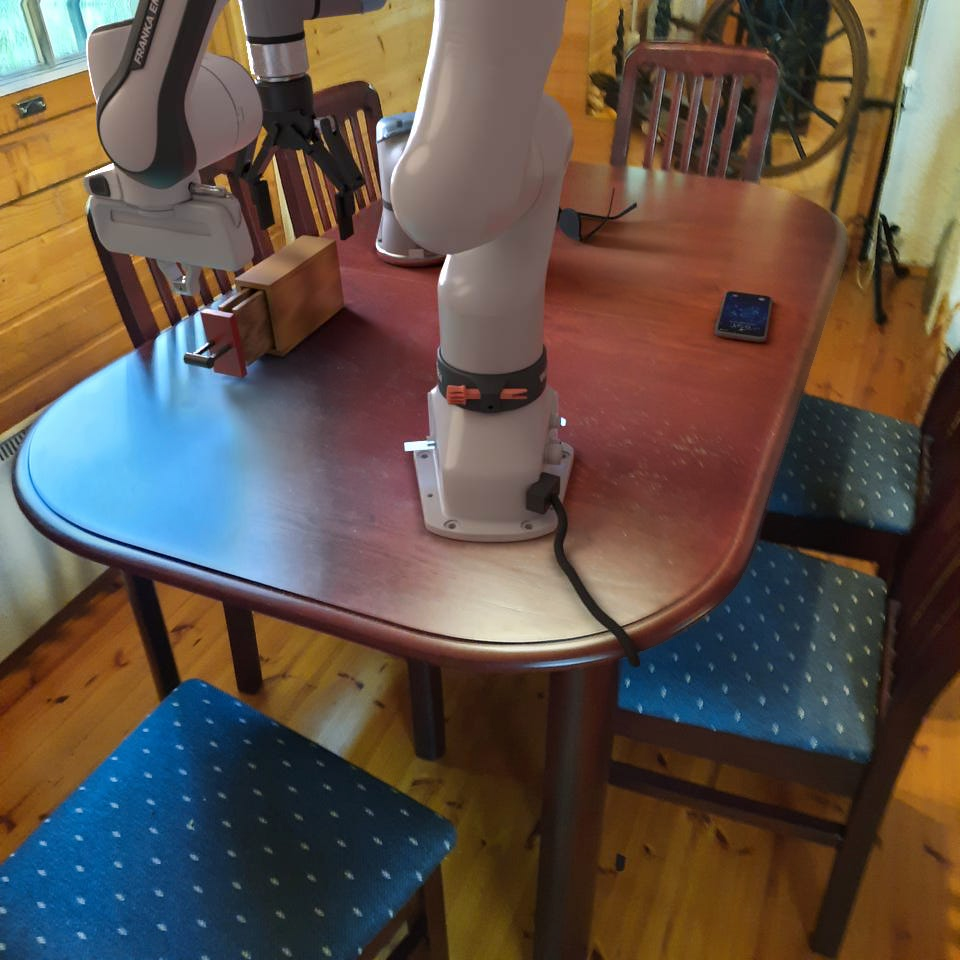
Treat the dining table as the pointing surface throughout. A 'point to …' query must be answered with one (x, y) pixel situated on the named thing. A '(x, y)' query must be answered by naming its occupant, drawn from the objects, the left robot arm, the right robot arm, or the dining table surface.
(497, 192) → the right robot arm
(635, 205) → the sunglasses
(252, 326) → the drawer
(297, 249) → the cabinet
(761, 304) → the smartphone
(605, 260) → the dining table surface
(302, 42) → the left robot arm
